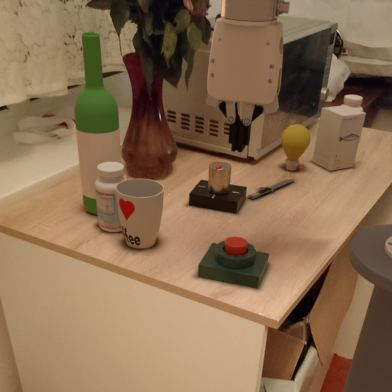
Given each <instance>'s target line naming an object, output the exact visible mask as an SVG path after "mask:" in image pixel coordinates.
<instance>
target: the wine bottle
mask: <svg viewBox="0 0 392 392" xmlns="http://www.w3.org/2000/svg"><path fill="white" fill-rule="evenodd" d="M81 43H82V44H81V45H82V56H83V57H82V58H83V71H84V81H85V84H84V85H85V86H84V87H83V89H82V90H81V91H80V92H79V94H78V95H77V96H76V98H75V101H74V108H73V109H74V110H73V114H74V122H75V123H74V124H75V133H76V144H77V145H76V146H77V155H78V164H79V175H80V185H81V193H82V202H83V203H82V204H83V207H84V208H85V210H86V211H87V212H88V213H90V214H93V215H95V216H96V215H97V216H98V214H97V204H96V193H95V182H96V180H97V179H98V178H99V176H98V170H97V166H98V165H99V164H101V163H104V162H118V163H121V164H122V151H121V150H122V149H121V133H120V132H121V131H120V119H119V118H120V116H119V107H118V103H117V101H116V98H115V97H114V95H113V94H112V93H111V92H110V91H109V90H107V88H106V87H105V85H104V76H103V75H104V74H103V61H102V60H103V59H102V48H101V35H100V33H98V32H91V31H90V32H89V31H87V32H82V33H81Z"/></svg>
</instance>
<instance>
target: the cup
mask: <svg viewBox="0 0 392 392" xmlns="http://www.w3.org/2000/svg"><path fill="white" fill-rule="evenodd" d="M115 190H116V199H117V208H118V214H119V219H120V223H121V228H122V231H121V232H122V234H123V237H124V239H125V242H126V244H127V246H129V247H131V248H132V249H133V248H134V249H140V250H141V249H148V248H151V247H153V246H154V245H155V243H156V241H157V237H158V235H159V232H160V228H161V223H162V217H163V211H164V210H163V209H164V195H165V185H163V184H162V183H161V182H160V181H157V180H153V179H151V178H150V179H149V178H129V179H127V180H124V181H121V182H119V183H118V184H117V185H116V186H115Z"/></svg>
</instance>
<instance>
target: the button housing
mask: <svg viewBox="0 0 392 392" xmlns="http://www.w3.org/2000/svg"><path fill="white" fill-rule="evenodd" d="M269 260H270V253H269V252H265V251H259V250H257V249H256V247H255V245H253V244H252V243H250V242H248V244H247V252H246V254H244V255H239V256H235V255H230V254H227V253H226V252H225V240H222V241H220V242H218V243H217V242H212V243H211V244H210V245H209V247H208V249H207V251H206V252H205V254H204V255H203V257H202V259H201V260H200V262H199V263H198V265H197V270H198V271H197V277H201V278H204V279H209V280H215V281H219V282H224V283H229V284H233V285H239V286H244V287H249V288H254V289H258V288H259V287H260V284H261V282H262V279H263V277H264V275H265V272H266V270H267V267H268V265H269Z"/></svg>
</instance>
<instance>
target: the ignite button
mask: <svg viewBox="0 0 392 392" xmlns="http://www.w3.org/2000/svg"><path fill="white" fill-rule="evenodd" d="M224 241H225V252H226V253H227V254H230V255H235V256H239V255H244V254H246V252H247V244H248V243H249V242H248V240H247V239H245V238H244V237H241V236H230V237H226V239H224Z"/></svg>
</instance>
